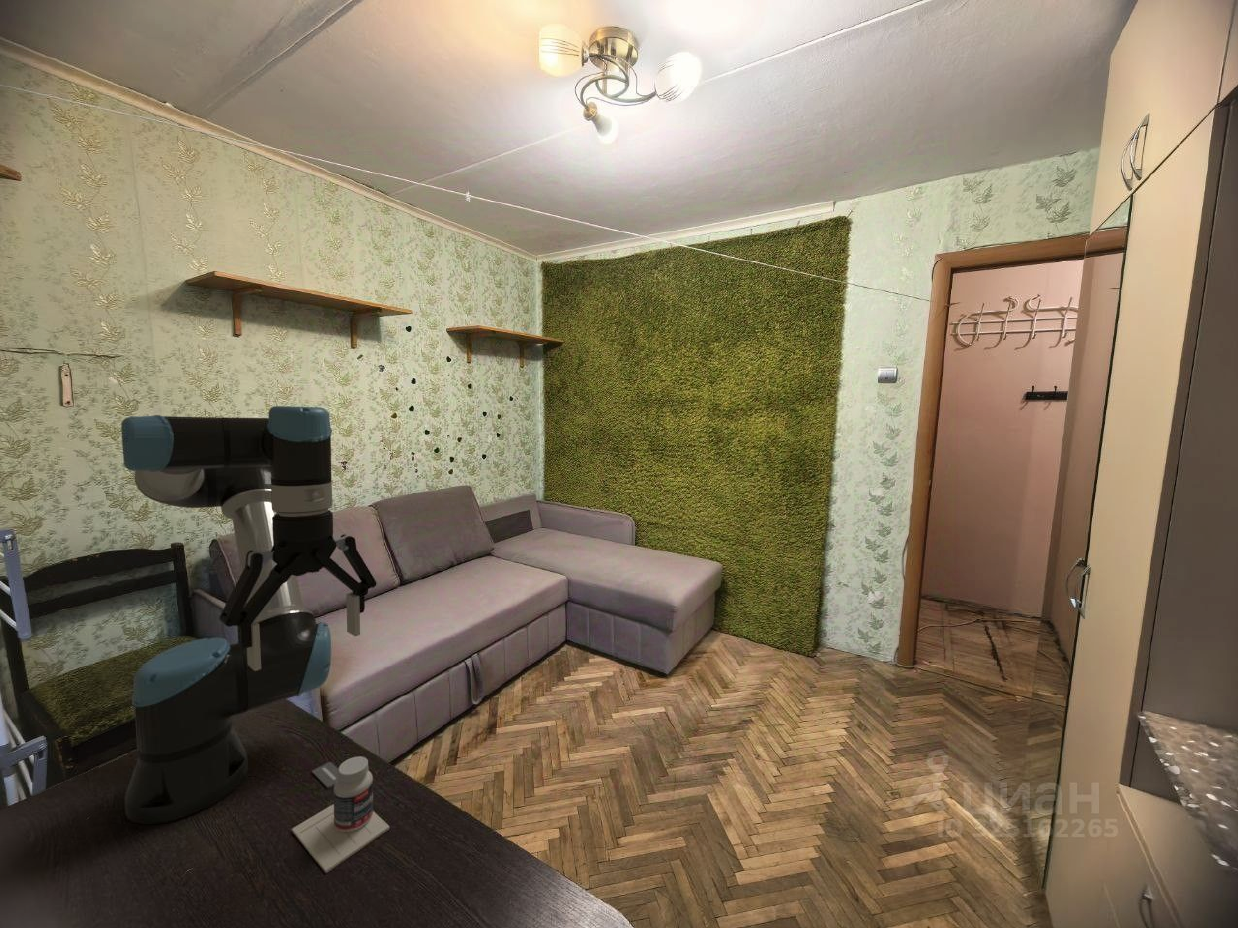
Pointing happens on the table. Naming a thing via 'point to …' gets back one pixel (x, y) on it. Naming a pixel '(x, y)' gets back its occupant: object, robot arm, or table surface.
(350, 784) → the pill bottle
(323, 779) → the grey striped flat block
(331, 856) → the paper
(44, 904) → the table surface
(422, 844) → the table surface
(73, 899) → the table surface
